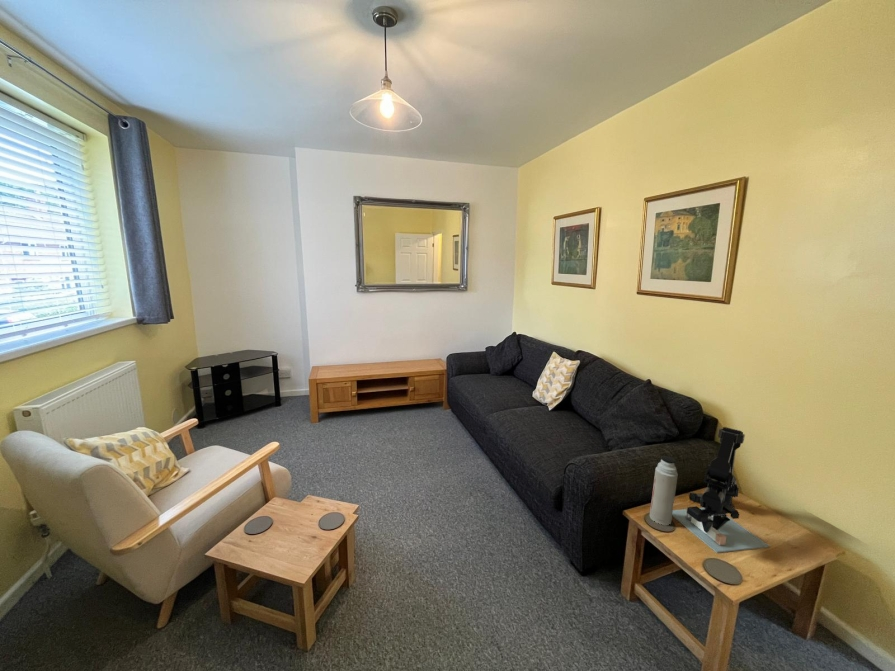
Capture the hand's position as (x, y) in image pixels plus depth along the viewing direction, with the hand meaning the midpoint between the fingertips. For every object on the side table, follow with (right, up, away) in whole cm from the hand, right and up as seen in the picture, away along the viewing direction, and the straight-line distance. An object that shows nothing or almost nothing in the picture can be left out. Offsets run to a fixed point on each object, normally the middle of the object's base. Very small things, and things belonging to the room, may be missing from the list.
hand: (709, 531), depth 139 cm
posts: (+6, -1, +13) cm, 14 cm away
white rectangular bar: (0, -1, +1) cm, 2 cm away
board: (+6, -2, +5) cm, 8 cm away
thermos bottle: (-14, -1, +10) cm, 17 cm away
